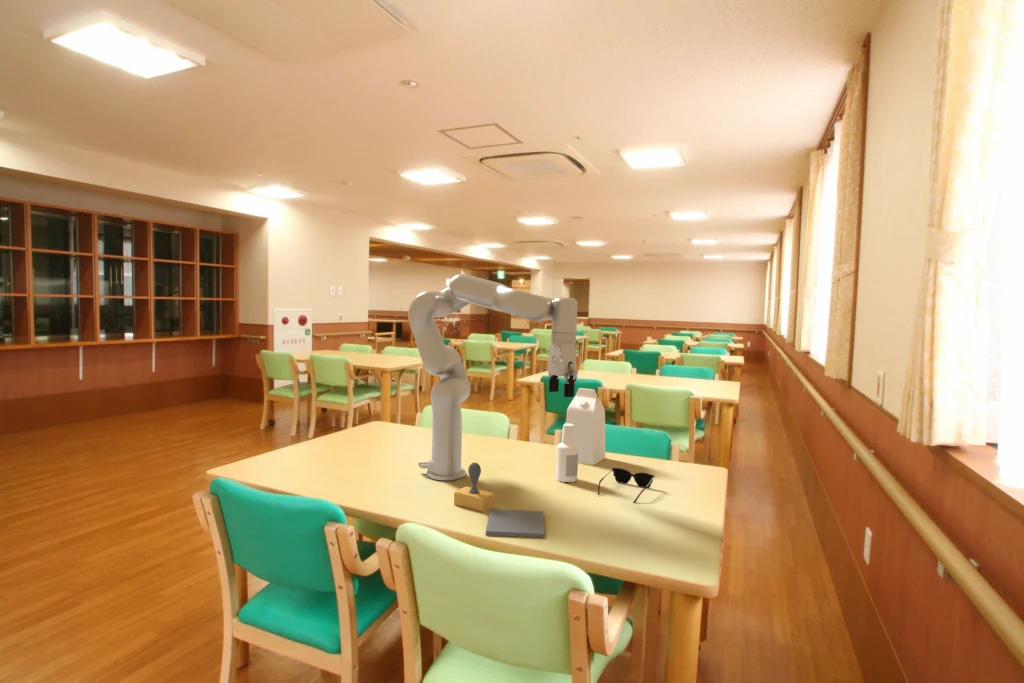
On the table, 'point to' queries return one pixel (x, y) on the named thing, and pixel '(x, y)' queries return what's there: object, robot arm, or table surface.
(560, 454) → the spray bottle
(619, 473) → the sunglasses
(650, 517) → the table surface
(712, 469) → the table surface
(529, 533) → the mat
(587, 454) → the milk
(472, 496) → the rubber stamp
